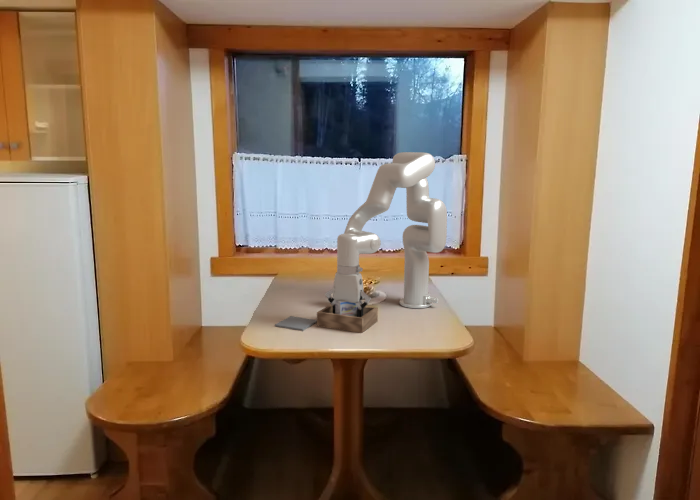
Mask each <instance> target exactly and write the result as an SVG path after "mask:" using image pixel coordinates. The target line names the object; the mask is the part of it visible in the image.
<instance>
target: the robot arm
mask: <svg viewBox="0 0 700 500" xmlns="http://www.w3.org/2000/svg"><path fill="white" fill-rule="evenodd" d="M435 167H436V160H435V158H434V156H433V155H432V154H431V153H428V152H419V151H418V152H416V151H415V152H413V151H410V152H409V151H407V152H406V151H403V152H398V153H396V154H395V155H394V156H393V157H392V163H391V162H390V163H388V162H387V163H383V164H381V165H380V166H379V167H378V168H377V171H376V173H375V176H374V179H373V182H372V185H371V188H370V191H369V193H368V195H367V198H366V200H365V201H364V203H363V204H362V205H360V206H359V207H358V208H357V209H356V210H355V211H354V213H352V215H351V216H350V217H349V219H348V221H347V224H346V227H345V230H344V231H343V233H341V234H339V235H338V236H337V238H336V239H337V241H336V242H337V244H336V247H337V248H336V251H337V254H336V257H337V258H336V259H337V260H336V261H337V262H336V265H337V266H336V269H337V270H336V272H335V274H334V279H333V287H332V289H330V290H328V291H326V292H325V296H326V299H327V300H328V302H329V303H330V305H332V306H333V314H335V300H338V301H346V302H349V303H355V304H356V305H357V307H358V310H357V317H362V316H363V308H364V307H365V306H368V304H369V302H370V301H371V299H372V297H371V296H370V295H368V294H367V293H366V292H365V291H364V282H363V276H362V273H361V272H363V267H361V266H360V255H361V254H362V255H363V254H366V255H371V254H374V253H376V252H377V251H379V249H380V248H381V245H382V242H381V239H380V237H379V236H378V234H376V233H374V232H369V231H365V230H363V228H364V226H365V225H366V223H367V222H369V221H370V220H372V219H373V218H375V217H377V216H379V215H381V214H383V213H386V212H387V211H388V210H389V209H390V207H391V203H392V201H393V198H394V195H395V193H396V190H397V188H399V189H406V190H405V191H406V192H405V193H406V216H407V218H408V219H409V221H411V222H417V223H423V224H427V225H428V226H427V225H421V224H411V225H408V226H406V228H405V229H404V230H403V232H402V244H403V245H402V246H403V250H404V268H403V269H404V271H403V272H404V274H403V298H401V299H400V300H399V305H400V306H401V307H404V308H409V309H427V308H428V307H429V308H430V307H431V306H432V305H433V304H438V303H439V298H438V297H437V296H431V292H429V276H430V275H429V273H430V272H429V271H430V270H429V268H430V259H429V256H428V253H427V252H429V253H433V254H434V253H436V254H437V253H440V252H442V251H443V250H444V249H445V247H446V244H447V233H448V232H447V231H448V229H447V228H448V223H447V222H448V211H447V207H446V203H444V202H443V201H442V200H441V199H439V198H436V197H435V198H434V197H433V198H432V197H430V193H429V192H430V187H429V182H428V179H427V178H428V177H429V176H431V175H432V173H433V172H434V170H435ZM363 300H364V302H363Z"/></svg>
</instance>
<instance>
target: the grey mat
mask: <svg viewBox="0 0 700 500" xmlns="http://www.w3.org/2000/svg"><path fill="white" fill-rule="evenodd" d="M315 324H317V319H313V318H306V317H299V316H294V315H290V316H289V317H286V318H284V319H282V320H281V321H279V322H277V323H275V324H274V327H278V328H282V329H283V328H284V329H289V330H295V331H302V332H303V331H305V330H306V329H309V328H310V327H312V326H313V325H315Z"/></svg>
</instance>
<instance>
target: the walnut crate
mask: <svg viewBox="0 0 700 500" xmlns="http://www.w3.org/2000/svg"><path fill="white" fill-rule="evenodd" d="M378 311H379V309H378V307H375V306H374V307H373V306H368V305H366V306H365V307H364V308H363V316H362V317H354V316H347V315H340V314H333V306H332V305H331V304H329V305H327V306H325V307H323V308H321V309H320V310H318V311H317V312H316V320H317V323H316V326H317V327H321V328H327V329H332V330H340V331H345V332H346V331H347V332H353V333H359V334H363V333H364V332H366V331H367V330H369V328H371V327H372V326H373V325H375V324H376V323H378V319H379V318H378Z"/></svg>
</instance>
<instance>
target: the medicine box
mask: <svg viewBox="0 0 700 500" xmlns="http://www.w3.org/2000/svg"><path fill="white" fill-rule="evenodd" d="M357 310H358V307H357V305H356V304H355V303H349V302H346V301H338V300H335V314H340V315H347V316H354V317H357Z"/></svg>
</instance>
